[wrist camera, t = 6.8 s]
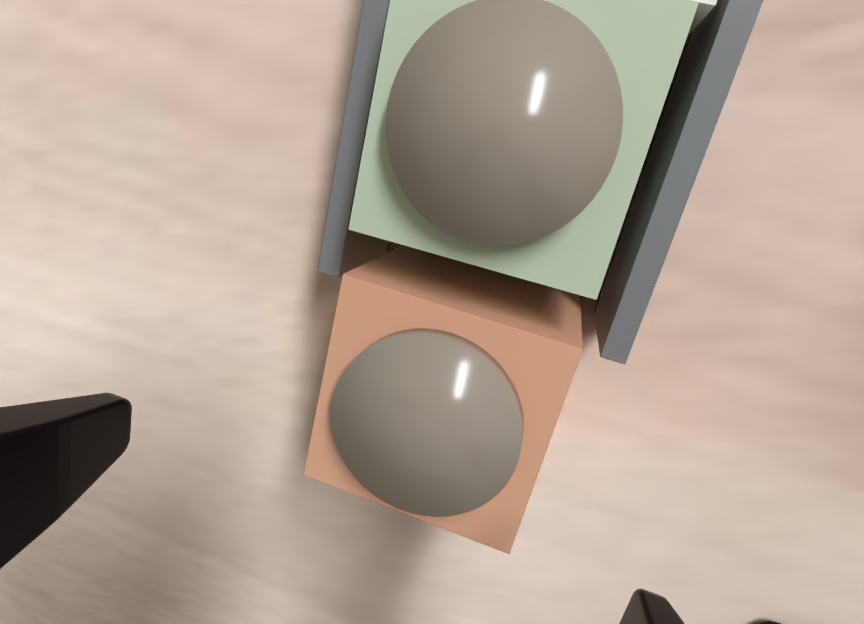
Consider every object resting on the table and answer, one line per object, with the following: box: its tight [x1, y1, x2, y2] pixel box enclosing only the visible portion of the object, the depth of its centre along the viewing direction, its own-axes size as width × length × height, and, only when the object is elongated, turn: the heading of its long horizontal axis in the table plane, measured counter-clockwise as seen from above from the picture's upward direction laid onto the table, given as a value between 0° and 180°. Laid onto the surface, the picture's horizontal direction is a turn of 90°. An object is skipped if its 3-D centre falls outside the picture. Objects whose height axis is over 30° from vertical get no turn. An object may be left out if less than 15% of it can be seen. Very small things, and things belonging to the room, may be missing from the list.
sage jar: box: [348, 0, 699, 300], centre depth 13 cm, size 6×6×7 cm
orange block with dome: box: [304, 245, 583, 554], centre depth 15 cm, size 6×6×7 cm
